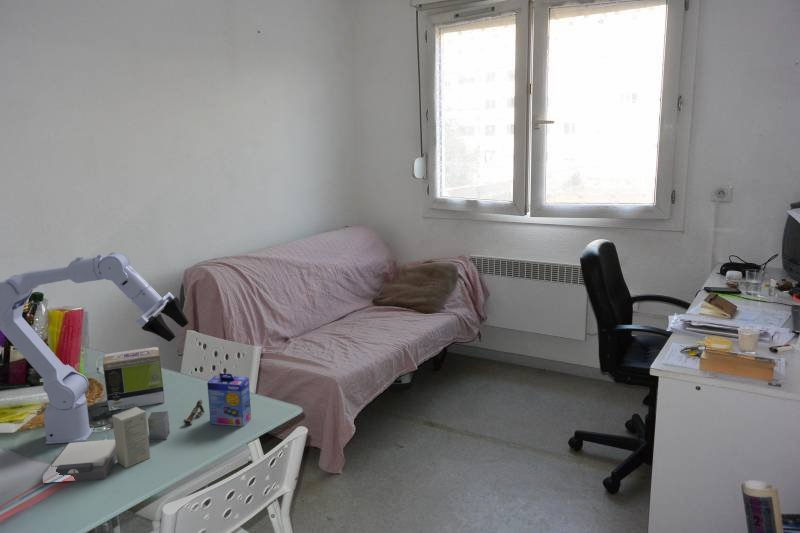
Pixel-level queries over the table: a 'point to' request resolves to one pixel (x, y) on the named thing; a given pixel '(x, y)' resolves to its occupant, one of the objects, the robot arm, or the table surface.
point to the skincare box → (131, 436)
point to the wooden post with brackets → (194, 411)
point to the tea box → (133, 378)
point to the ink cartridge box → (229, 400)
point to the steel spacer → (158, 426)
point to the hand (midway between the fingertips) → (179, 332)
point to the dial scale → (86, 459)
